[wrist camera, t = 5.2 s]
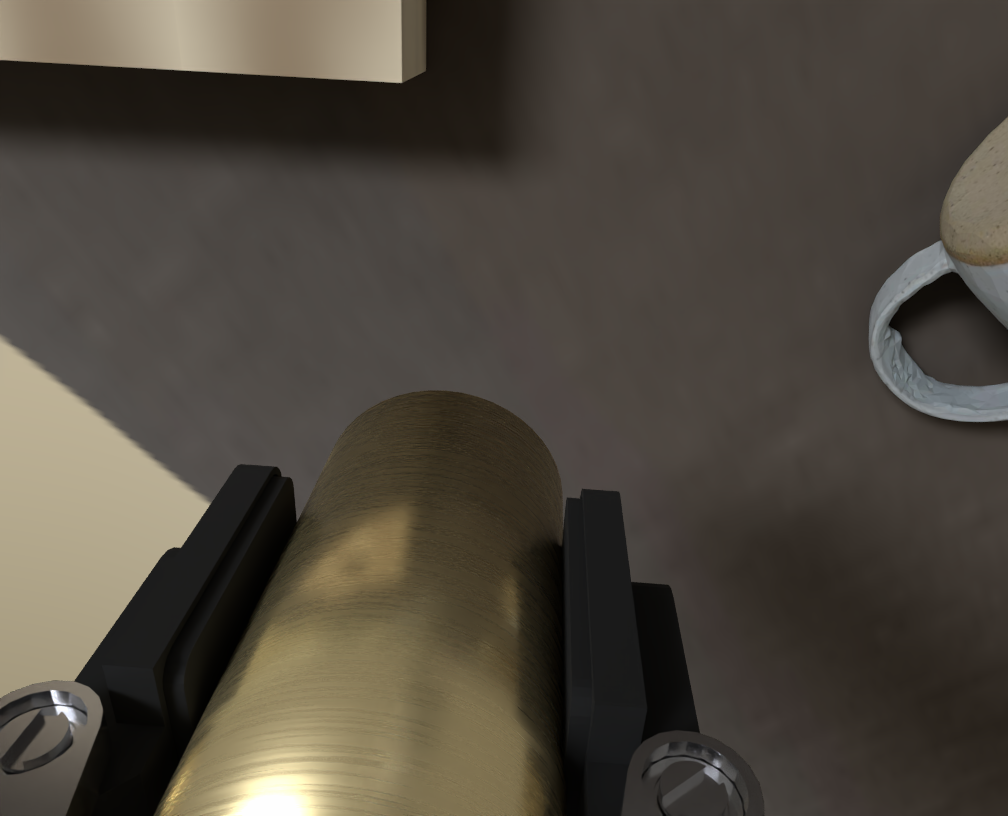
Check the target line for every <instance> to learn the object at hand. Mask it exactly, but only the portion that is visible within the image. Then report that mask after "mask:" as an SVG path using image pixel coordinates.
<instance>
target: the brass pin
mask: <svg viewBox="0 0 1008 816" xmlns="http://www.w3.org/2000/svg"><path fill="white" fill-rule="evenodd" d="M562 538H563V497H562V486H561V479H560V476H559V472H558V469H557V466H556V464H555V461H554V459H553V457H552V455H551V453H550V451H549V450H548V448H547V447H546V445H545V444H544V442H543V441H542V440H541V439H540V437H539V436H538V435H537V434H536V433H535V432H534V430H533V429H531V428H530V427H529V426H528V425H527V424H526V423H525V422H524V421H522V420H521V419H520V418H518V417H517V416H516V415H514V414H513V413H511V412H510V411H508V410H506V409H504V408H503V407H501V406H499V405H497V404H495V403H493V402H490V401H487V400H485V399H482V398H479V397H476V396H472V395H468V394H464V393H459V392H451V391H420V392H412V393H408V394H403V395H399V396H396V397H393V398H390V399H388V400H385V401H382V402H380V403H379V404H377V405H375V406H373V407H371V408H369V409H368V410H366V411H365V412H364V413H362V414H361V415H360V416H358V417H357V418H356V419H355V420H354V421H353V422H352V423H351V424H350V425H349V426H348V427H347V428H346V429H345V431H344V432H343V433H342V435H341V436H340V437H339V439H338V441H337V443H336V444H335V446H334V448H333V450H332V452H331V454H330V456H329V458H328V460H327V462H326V464H325V466H324V468H323V471H322V473H321V475H320V477H319V479H318V481H317V483H316V485H315V487H314V489H313V491H312V493H311V495H310V497H309V499H308V501H307V503H306V505H305V507H304V509H303V511H302V513H301V515H300V517H299V519H298V521H297V524H296V526H295V528H294V530H293V532H292V534H291V536H290V538H289V540H288V542H287V544H286V546H285V548H284V550H283V552H282V554H281V556H280V558H279V560H278V562H277V564H276V566H275V568H274V570H273V572H272V574H271V576H270V579H269V581H268V583H267V585H266V587H265V589H264V591H263V593H262V595H261V597H260V599H259V601H258V603H257V605H256V607H255V609H254V611H253V613H252V615H251V617H250V619H249V621H248V623H247V625H246V627H245V629H244V632H243V634H242V636H241V638H240V640H239V642H238V644H237V646H236V648H235V650H234V652H233V654H232V656H231V658H230V660H229V662H228V664H227V666H226V668H225V670H224V672H223V674H222V676H221V678H220V680H219V682H218V685H217V687H216V689H215V691H214V693H213V695H212V697H211V699H210V701H209V703H208V705H207V707H206V709H205V711H204V713H203V715H202V717H201V719H200V721H199V723H198V725H197V727H196V729H195V731H194V733H193V735H192V737H191V740H190V742H189V744H188V746H187V748H186V750H185V752H184V754H183V756H182V758H181V760H180V762H179V764H178V766H177V768H176V770H175V772H174V774H173V776H172V778H171V780H170V782H169V784H168V786H167V788H166V790H165V793H164V795H163V797H162V799H161V801H160V803H159V805H158V807H157V809H156V811H155V813H154V815H153V816H567V796H566V781H565V775H564V748H563V646H562Z"/></svg>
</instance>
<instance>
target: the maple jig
mask: <svg viewBox="0 0 1008 816" xmlns="http://www.w3.org/2000/svg"><path fill="white" fill-rule="evenodd" d="M0 60H11V61H28V62H45V63H63V64H80V65H97V66H115V67H132V68H149V69H167V70H184V71H202V72H219V73H236V74H254V75H271V76H288V77H306V78H323V79H340V80H358V81H375V82H392V83H403V82H405V81H407V80H409V79H411V78H413V77H415V76H417V75H419V74H421V73H423V72H425V71H426V0H0Z"/></svg>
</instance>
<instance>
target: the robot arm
mask: <svg viewBox="0 0 1008 816" xmlns="http://www.w3.org/2000/svg"><path fill="white" fill-rule="evenodd" d="M296 524H297V520H296V508H295V497H294V487H293V482H292V479H291V478H290V477H282V476H281V472H280V470H279V468H278V467H272V466H258V465H244V464H241V465H238V466H237V467H236V468H235V469H234V471H233V472H232V474H231V475H230V477H229V478H228V479H227V481H226V482H225V484H224V485H223V487H222V488H221V490H220V491H219V493H218V494H217V496H216V497H215V499H214V500H213V502H212V503H211V505H210V506H209V508H208V509H207V511H206V512H205V513H204V515H203V516H202V518H201V519H200V521H199V522H198V524H197V525H196V527H195V528H194V530H193V531H192V533H191V534H190V536H189V537H188V538H187V540H186V541H185V543H184V545H183V546H182V547H181V548H175V547H174V548H172V549H169V550H167V552H166V553H165V554H164V555H163V556H162V557H161V558H160V560H159V561H158V563H157V564H156V565H155V567H154V568H153V570H152V571H151V573H150V574H149V575H148V577H147V578H146V580H145V581H144V583H143V584H142V585H141V587H140V588H139V590H138V591H137V592H136V594H135V595H134V597H133V598H132V600H131V601H130V602H129V604H128V605H127V607H126V608H125V610H124V611H123V612H122V614H121V615H120V617H119V618H118V620H117V621H116V622H115V624H114V626H113V627H112V628H111V630H110V631H109V632H108V634H107V635H106V637H105V638H104V639H103V641H102V642H101V644H100V645H99V647H98V648H97V650H96V651H95V653H94V654H93V655H92V657H91V658H90V659H89V661H88V662H87V664H86V665H85V667H84V668H83V670H82V671H81V672H80V674H79V675H78V677H77V678H76V679H75V681H58V680H54V681H48V682H42V683H36V684H32V685H29V686H26V687H23V688H21V689H18V690H15V691H12V692H10V693H8V694H7V695H5V696H3V697H2V698H0V816H153V815H154V813H155V811H156V809H157V807H158V805H159V803H160V801H161V799H162V797H163V795H164V793H165V790H166V788H167V786H168V784H169V782H170V780H171V778H172V776H173V774H174V772H175V770H176V768H177V766H178V764H179V762H180V760H181V758H182V756H183V754H184V752H185V750H186V748H187V746H188V744H189V742H190V740H191V737H192V735H193V733H194V731H195V729H196V727H197V725H198V723H199V721H200V719H201V717H202V715H203V713H204V711H205V709H206V707H207V705H208V703H209V701H210V699H211V697H212V695H213V693H214V691H215V689H216V687H217V685H218V682H219V680H220V678H221V676H222V674H223V672H224V670H225V668H226V666H227V664H228V662H229V660H230V658H231V656H232V654H233V652H234V650H235V648H236V646H237V644H238V642H239V640H240V638H241V636H242V634H243V632H244V629H245V627H246V625H247V623H248V621H249V619H250V617H251V615H252V613H253V611H254V609H255V607H256V605H257V603H258V601H259V599H260V597H261V595H262V593H263V591H264V589H265V587H266V585H267V583H268V581H269V579H270V576H271V574H272V572H273V570H274V568H275V566H276V564H277V562H278V560H279V558H280V556H281V554H282V552H283V550H284V548H285V546H286V544H287V542H288V540H289V538H290V536H291V534H292V532H293V530H294V528H295V526H296ZM562 646H563V748H564V775H565V781H566V796H567V816H765V815H764V800H763V796H762V791H761V787H760V783H759V781H758V780H757V778H756V776H755V774H754V773H753V771H752V769H751V767H750V766H749V765H748V764H747V763H746V762H745V761H744V760H743V759H742V758H741V757H740V756H739V755H738V754H737V753H736V752H735V751H734V750H733V749H731V748H730V747H728V746H726V745H725V744H723V743H722V742H720V741H719V740H717V739H714V738H712V737H709V736H706V735H703V734H700V731H699V726H698V721H697V716H696V711H695V706H694V701H693V695H692V690H691V685H690V680H689V675H688V670H687V665H686V659H685V654H684V649H683V644H682V639H681V634H680V629H679V623H678V618H677V613H676V608H675V603H674V598H673V594H672V590H671V588H670V586H669V585H664V584H651V583H637V582H631V577H630V569H629V561H628V553H627V546H626V538H625V530H624V522H623V514H622V506H621V499H620V493H619V492H617V491H603V490H590V489H582V491H581V496H580V499H579V498H567V500H566V508H565V518H564V528H563V538H562Z"/></svg>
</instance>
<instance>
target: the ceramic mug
mask: <svg viewBox="0 0 1008 816" xmlns="http://www.w3.org/2000/svg"><path fill="white" fill-rule="evenodd" d="M940 237H941V241H938V242H936V243H935V244H933V245H932V246H930V247H927V248H925V249H924V250H922V251H920V252H918V253H916V254H915V255H913V256H912V257H910V258H909V259H908V260H907V261H906V262H905V263H904V264H903V265H902V266H901V267H900V268H899V269H898V270H897V271H896V272H895V273H894V274H892V275H891V276H890V277H889V278H888V279H887V280H886V282H885V283H884V285H883V286H882V288H881V289H880V291H879V292H878V294H877V295H876V297H875V301H874V303H873V305H872V307H871V312H870V319H869V351H870V358H871V360H872V362H873V364H874V368H875V370H876V371H877V373H878V375H879V376H880V378H881V379H882V381H883V382H884V383H885V384H886V385H887V386H888V388H889V389H890V390H891V391H892V392H893V393H894V394H895V395H896V396H897V397H898V398H900V399H901V400H902V401H903V402H905V403H906V404H907V405H909V406H910V407H912V408H914V409H916V410H918V411H920V412H923V413H925V414H928V415H931V416H934V417H938V418H942V419H949V420H955V421H966V422H994V421H1003V420H1008V383H1004V384H997V385H989V386H959V385H953V384H945V383H942V382H939V381H936V380H935V379H934V378H932V377H929V376H926V375H925V374H924V373H923V372H922V370H921V369H920V368H919V367H918V366H917V364H916V363H915V362H914V361H913V359H912V358H911V357H910V356H909V355H908V354H907V352H906V351H905V349H904V348H903V346H902V344H901V340H902V338H901V335H900V333H899V332H898V331H896V330H895V329H893V328H892V327H890V326H889V323H890V321H891V319H892V317H893V316H894V314H895V313H896V312H897V311H898V309H899V307H900V305H901V304H902V303H904V302H905V301H906V300H907V299H909V298H910V297H911V296H913V295H914V294H915V293H916V292H918V291H919V290H920V289H921V288H922V287H923V286H925V285H928V284H930V283H932V282H933V281H935V280H936V279H937V278H939V277H940V276H941V275H943V274H946V273H949V272H952V271H953V272H956V273H958V274H959V275H960V276H961V278H962V279H963V280H964V282H965V283H966V285H967V286H968V287H969V289H970V290H971V291H972V292H973V293H974V294H975V296H976V297H977V298H978V299H979V300H980V301H981V302H982V303H983V304H984V305H985V306H986V307H987V308H988V310H989V311H990V312H991V313H992V314H993V315H994V316H995V317H996V318H997V319H998V320H999V321H1000V322H1001V323H1002V324H1003V325H1004V326H1005V327H1006V328H1007V329H1008V117H1007V118H1006V119H1005V120H1004V121H1003V122H1002V123H1001V124H999V125H998V126H997V127H996V128H995V129H994V130H993V131H992V132H991V133H990V134H989V135H988V136H987V137H986V138H985V139H984V141H983V142H982V143H981V144H980V145H979V146H978V147H977V148H976V149H975V151H974V152H973V153H972V154H971V155H970V156H969V157H968V158H967V160H966V161H965V162H964V164H963V165H962V167H961V168H960V170H959V172H958V173H957V175H956V176H955V178H954V179H953V181H952V183H951V185H950V188H949V190H948V192H947V195H946V197H945V199H944V202H943V206H942V210H941V214H940Z"/></svg>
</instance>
